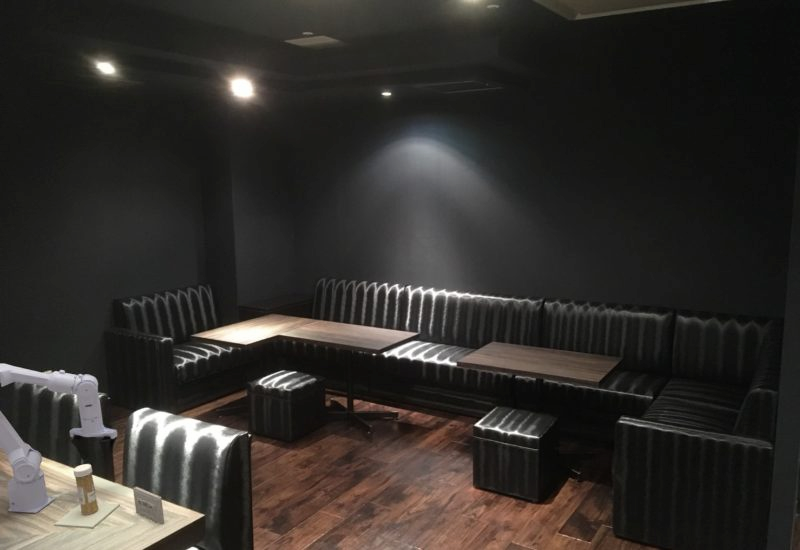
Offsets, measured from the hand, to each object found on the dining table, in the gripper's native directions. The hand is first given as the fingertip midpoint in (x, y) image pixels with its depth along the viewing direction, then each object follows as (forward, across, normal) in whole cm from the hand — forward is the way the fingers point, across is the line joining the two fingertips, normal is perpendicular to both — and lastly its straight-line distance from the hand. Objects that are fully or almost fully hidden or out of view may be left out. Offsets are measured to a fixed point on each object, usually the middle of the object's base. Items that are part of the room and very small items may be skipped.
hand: (97, 459), depth 196 cm
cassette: (+11, -24, +12) cm, 29 cm away
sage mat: (+10, -5, +13) cm, 17 cm away
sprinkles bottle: (+10, -5, +12) cm, 16 cm away
